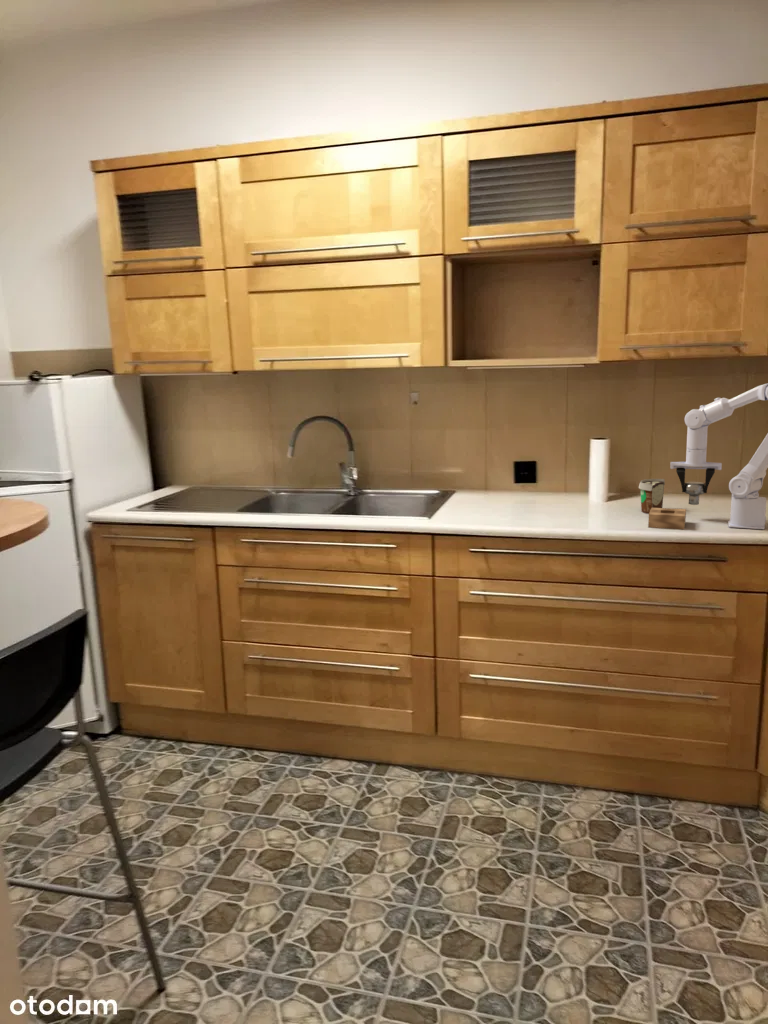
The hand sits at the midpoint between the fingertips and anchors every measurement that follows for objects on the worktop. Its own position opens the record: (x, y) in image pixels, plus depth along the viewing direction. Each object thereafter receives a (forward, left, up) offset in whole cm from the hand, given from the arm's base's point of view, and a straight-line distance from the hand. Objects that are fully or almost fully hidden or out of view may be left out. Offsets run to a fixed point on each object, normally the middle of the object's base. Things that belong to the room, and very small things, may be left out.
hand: (694, 492), depth 229 cm
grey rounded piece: (0, 0, -4) cm, 4 cm away
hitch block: (+7, +10, -9) cm, 15 cm away
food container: (+14, -9, -9) cm, 19 cm away
